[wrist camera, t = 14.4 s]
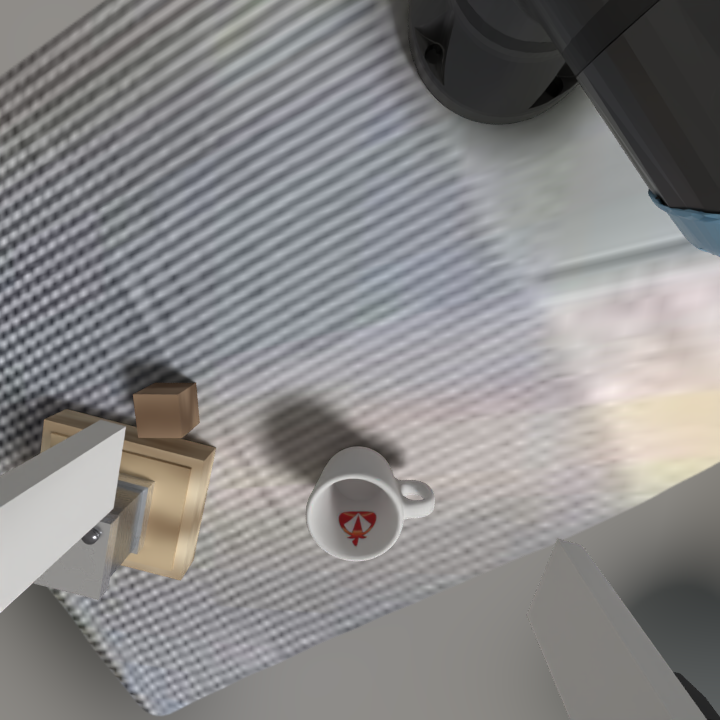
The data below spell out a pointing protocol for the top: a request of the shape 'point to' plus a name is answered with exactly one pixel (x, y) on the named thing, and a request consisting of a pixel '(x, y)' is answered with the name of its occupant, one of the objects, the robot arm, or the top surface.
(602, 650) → the robot arm
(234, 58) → the top surface
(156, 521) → the tan square tray
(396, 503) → the cup
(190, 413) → the walnut block
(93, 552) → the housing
